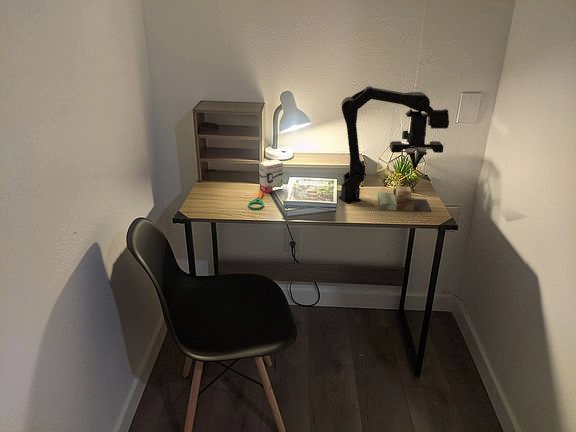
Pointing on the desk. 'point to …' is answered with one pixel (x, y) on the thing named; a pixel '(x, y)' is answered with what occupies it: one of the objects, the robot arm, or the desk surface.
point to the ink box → (270, 175)
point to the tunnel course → (401, 202)
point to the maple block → (403, 192)
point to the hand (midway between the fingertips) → (414, 168)
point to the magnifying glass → (257, 202)
